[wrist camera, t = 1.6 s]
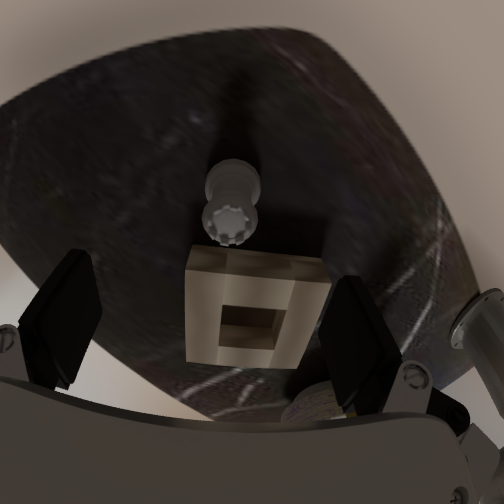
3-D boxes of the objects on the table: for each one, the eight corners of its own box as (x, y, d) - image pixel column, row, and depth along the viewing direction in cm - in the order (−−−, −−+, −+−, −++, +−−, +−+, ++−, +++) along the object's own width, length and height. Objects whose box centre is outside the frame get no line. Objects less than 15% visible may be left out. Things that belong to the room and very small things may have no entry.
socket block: (320, 258, 26) (331, 283, 23) (292, 342, 32) (296, 368, 29) (192, 244, 25) (185, 269, 21) (190, 334, 31) (186, 361, 28)
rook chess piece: (250, 149, 21) (255, 176, 14) (267, 200, 23) (279, 248, 16) (197, 168, 21) (176, 204, 15) (217, 216, 24) (207, 269, 17)
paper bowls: (355, 407, 44) (365, 442, 37) (275, 417, 43) (279, 455, 37) (382, 360, 36) (399, 403, 29) (282, 372, 36) (289, 422, 29)
